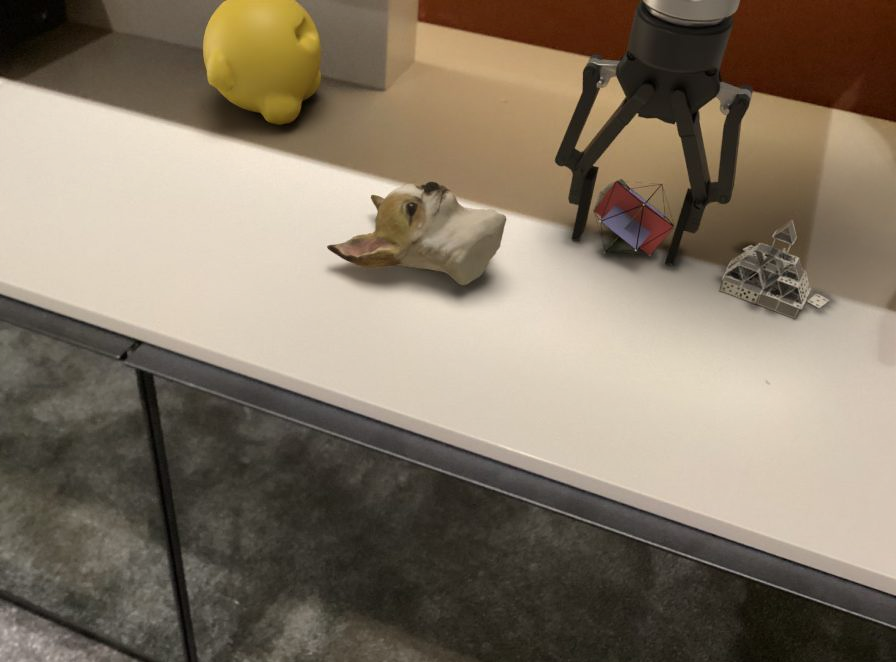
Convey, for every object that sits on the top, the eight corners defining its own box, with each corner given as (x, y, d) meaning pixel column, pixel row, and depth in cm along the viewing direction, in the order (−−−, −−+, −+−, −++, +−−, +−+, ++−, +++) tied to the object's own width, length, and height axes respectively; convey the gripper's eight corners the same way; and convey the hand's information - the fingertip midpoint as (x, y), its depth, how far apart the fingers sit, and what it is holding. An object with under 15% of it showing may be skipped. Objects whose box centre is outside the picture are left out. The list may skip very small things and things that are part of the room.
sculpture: (313, 134, 100) (259, 10, 92) (215, 154, 106) (156, 39, 98) (359, 69, 110) (314, -48, 103) (267, 90, 116) (218, -19, 108)
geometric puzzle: (698, 230, 90) (666, 153, 87) (670, 266, 85) (634, 187, 83) (631, 246, 95) (599, 174, 92) (602, 281, 91) (567, 206, 88)
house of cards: (841, 277, 89) (873, 207, 83) (814, 328, 83) (847, 257, 78) (745, 243, 92) (770, 174, 87) (714, 290, 87) (739, 219, 81)
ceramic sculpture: (484, 233, 77) (318, 194, 82) (480, 318, 83) (325, 277, 88) (527, 169, 84) (372, 137, 89) (520, 252, 90) (375, 218, 95)
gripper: (543, -1, 75) (506, 237, 91) (823, 54, 70) (732, 296, 86) (566, -35, 80) (528, 197, 96) (829, 14, 75) (742, 249, 91)
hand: (624, 243), depth 91 cm, fingers open, 8 cm apart
